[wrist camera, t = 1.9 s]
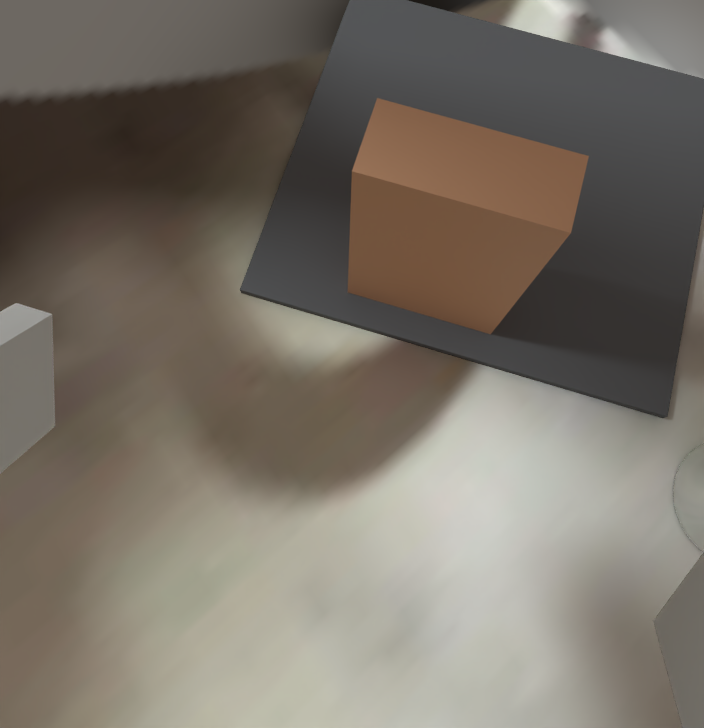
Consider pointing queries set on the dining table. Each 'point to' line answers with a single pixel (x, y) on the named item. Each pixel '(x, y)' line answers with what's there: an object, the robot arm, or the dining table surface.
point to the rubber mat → (533, 122)
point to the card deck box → (455, 214)
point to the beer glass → (691, 496)
